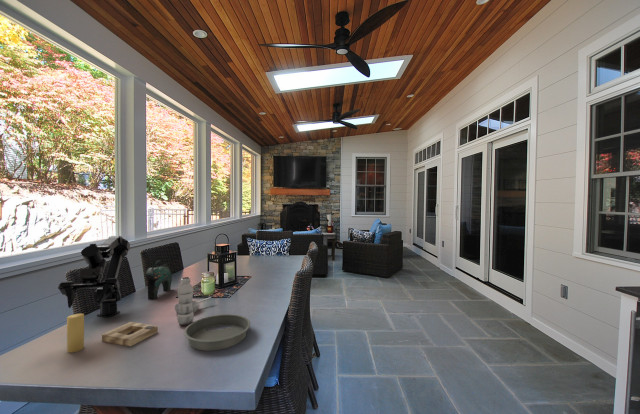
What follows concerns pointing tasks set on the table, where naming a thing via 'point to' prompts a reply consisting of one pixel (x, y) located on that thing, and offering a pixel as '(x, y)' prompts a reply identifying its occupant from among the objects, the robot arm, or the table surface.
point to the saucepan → (194, 304)
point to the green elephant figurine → (158, 280)
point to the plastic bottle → (185, 302)
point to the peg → (75, 333)
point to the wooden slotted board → (128, 340)
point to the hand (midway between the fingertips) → (84, 306)
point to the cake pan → (217, 332)
